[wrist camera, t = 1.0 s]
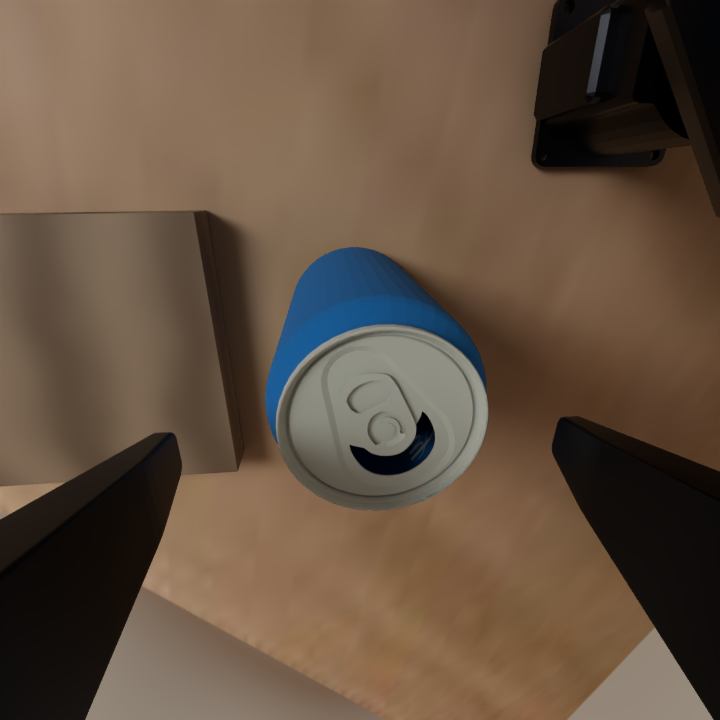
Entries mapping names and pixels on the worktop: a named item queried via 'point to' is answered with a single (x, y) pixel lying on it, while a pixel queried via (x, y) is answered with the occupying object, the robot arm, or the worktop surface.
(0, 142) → the worktop surface
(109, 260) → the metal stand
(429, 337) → the beverage can
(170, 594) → the worktop surface
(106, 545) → the robot arm
